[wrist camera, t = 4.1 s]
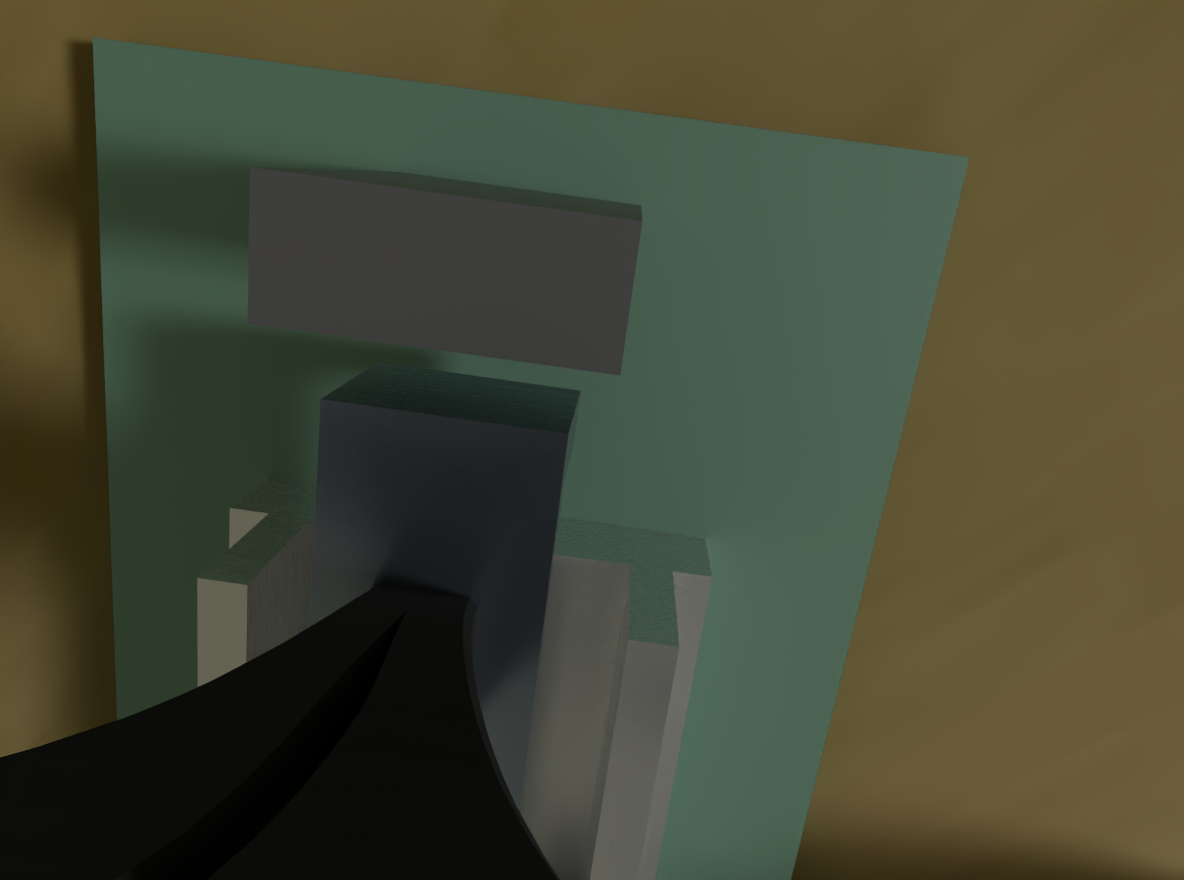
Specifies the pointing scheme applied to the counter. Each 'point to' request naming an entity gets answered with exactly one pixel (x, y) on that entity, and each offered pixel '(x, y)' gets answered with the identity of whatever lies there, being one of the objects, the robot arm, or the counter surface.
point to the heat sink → (566, 678)
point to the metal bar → (450, 516)
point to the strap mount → (443, 265)
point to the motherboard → (541, 374)
